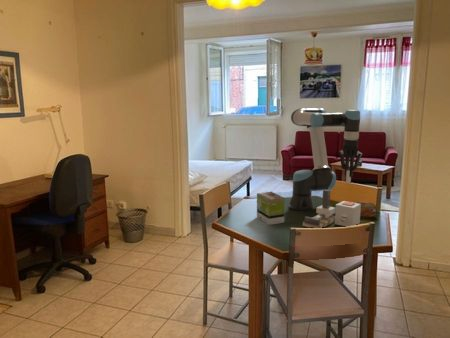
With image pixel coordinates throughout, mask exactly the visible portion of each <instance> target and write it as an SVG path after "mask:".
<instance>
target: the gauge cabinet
mask: <svg viewBox="0 0 450 338" xmlns="http://www.w3.org/2000/svg"><path fill="white" fill-rule="evenodd" d="M344 202H348V200H347V201H346V200H342V201H340V202H338V203H336V204H335V221H334V224H335V225H336V226H337V225H338V226H341V227H342V226H343V227H346V226H350V225H356V224H358V225H359V224H360V222H361V216H360V211H361V204H358V203H355V205H353V206H347V205H342V203H344ZM349 202H350V203H353V202H354V201H353V202H352V201H349ZM356 226H357V225H356Z"/></svg>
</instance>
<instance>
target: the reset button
mask: <svg viewBox="0 0 450 338" xmlns="http://www.w3.org/2000/svg"><path fill="white" fill-rule="evenodd" d="M350 202H351V201H347V202H344V203H342V205H347V206H353V205H355V203H350Z"/></svg>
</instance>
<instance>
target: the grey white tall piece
mask: <svg viewBox="0 0 450 338" xmlns="http://www.w3.org/2000/svg"><path fill="white" fill-rule="evenodd" d="M335 210H336V206H335V207H333V206H331V190H326V189H325V190H322V204H321V205H319V206H317V207H316V212H315V213H316V214H319V215H321V214H324V215H325V218H328V217H330V216H332V214H334V213H335Z"/></svg>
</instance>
